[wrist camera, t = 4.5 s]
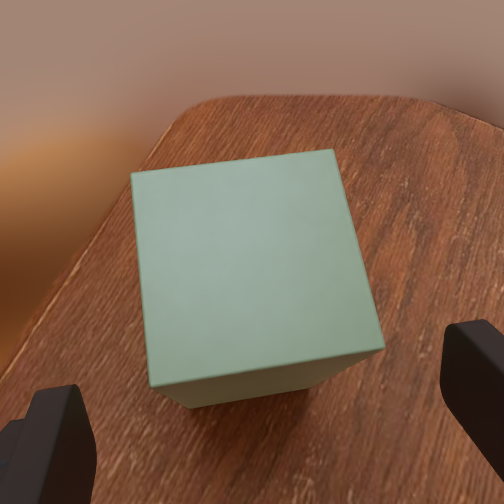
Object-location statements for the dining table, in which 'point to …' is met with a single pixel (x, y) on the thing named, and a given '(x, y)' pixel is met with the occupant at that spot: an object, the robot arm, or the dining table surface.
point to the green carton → (250, 278)
